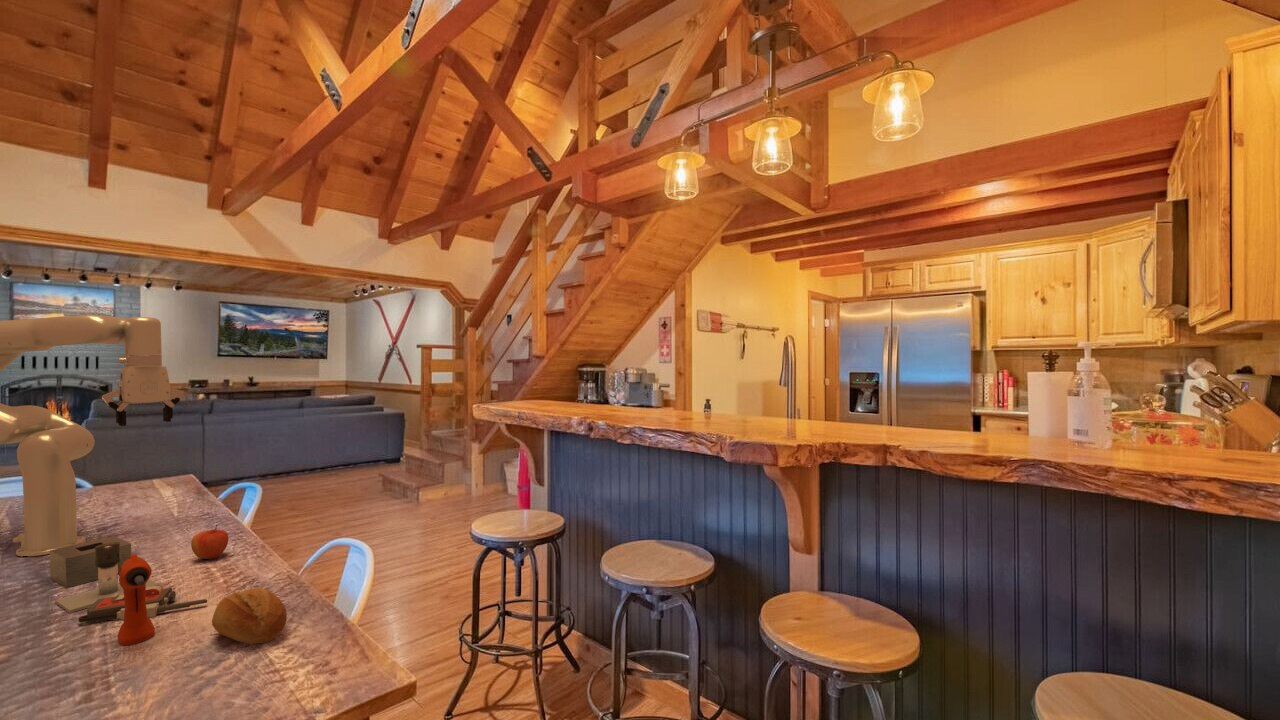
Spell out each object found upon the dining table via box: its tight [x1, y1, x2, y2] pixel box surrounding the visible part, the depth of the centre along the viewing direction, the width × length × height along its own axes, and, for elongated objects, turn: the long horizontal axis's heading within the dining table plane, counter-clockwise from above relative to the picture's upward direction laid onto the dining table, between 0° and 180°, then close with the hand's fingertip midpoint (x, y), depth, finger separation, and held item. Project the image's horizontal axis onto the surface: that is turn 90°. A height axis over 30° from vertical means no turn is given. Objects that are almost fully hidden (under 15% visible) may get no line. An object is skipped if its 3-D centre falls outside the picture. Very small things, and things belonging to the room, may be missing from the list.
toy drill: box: [117, 553, 156, 646], centre depth 96 cm, size 5×19×15 cm, turn 46°
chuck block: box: [49, 535, 132, 589], centre depth 128 cm, size 11×11×6 cm
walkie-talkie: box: [77, 584, 208, 624], centre depth 110 cm, size 9×4×20 cm
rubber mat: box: [54, 578, 160, 614], centre depth 117 cm, size 9×14×1 cm, turn 149°
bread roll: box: [211, 587, 288, 644], centre depth 99 cm, size 10×15×8 cm, turn 63°
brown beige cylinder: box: [95, 542, 120, 595], centre depth 117 cm, size 4×4×10 cm
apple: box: [190, 524, 229, 560], centre depth 137 cm, size 7×7×8 cm
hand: (145, 423), depth 152 cm, fingers open, 9 cm apart
